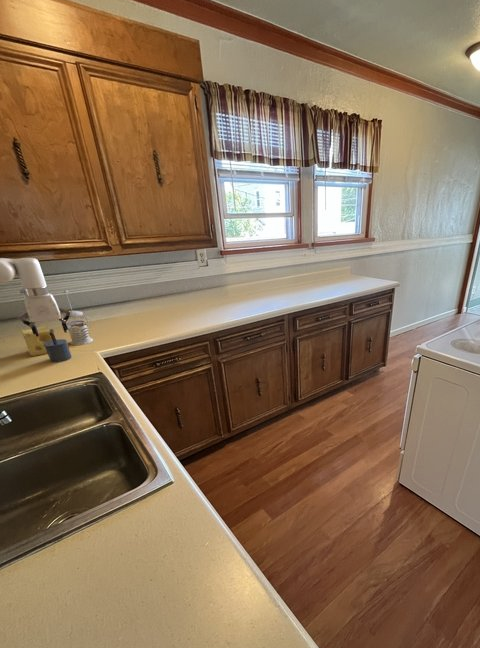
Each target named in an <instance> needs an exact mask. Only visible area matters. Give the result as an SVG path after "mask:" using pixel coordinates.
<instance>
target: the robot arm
mask: <svg viewBox="0 0 480 648" xmlns="http://www.w3.org/2000/svg"><path fill="white" fill-rule="evenodd" d="M16 278H18V279H19V280H20V283H21V286H22V289H19V294H22V295H24V296H23V300H24V305H25V308H26V311H24V313H22V314H20V315H18V316H17V319H18V320H19V321H20V322H22V323H23V324H24V325H26V326H28V327H29V328H30V329H32V331H33V334H36V337H38V336H39V333H38V330H37V328H38V327H37V325H35V324H36V323H44V322H50V321H60V322H61V326H62V329H63V332H64V333H67V332H68V331H69V330H68V327H67V326H68V324H67V321H68V320H69V319H70V317H69V316H70V311H71V310H68V309H65V308H62V307H59V305H58V303H57V300H56V299H55V297H54V295H53V294H52V293H50V291H49V288H48V284H47V282H46V279H45V276H44V273H43V271H42V267H41V265H40V262H39V260H38V259H37V258H35V257H20V258H19V257H18V258H7V257H6V258H5V257H0V283H9V282H11V281H12V280H13V279H16ZM61 313H63V314H65V313H66V316H65V317H64V316H62V314H61ZM26 317H28V319H29V320H30V321H29V320H27V319H25V318H26Z"/></svg>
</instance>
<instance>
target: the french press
mask: <svg viewBox="0 0 480 648" xmlns="http://www.w3.org/2000/svg"><path fill="white" fill-rule="evenodd" d="M69 292H70V291H69V290H67V289H65V290H63V294H66V297H67V300H68V304H69V306H70V308H71V310H69V311H70V316H69V318H74V320H71V321H69V322H66V325H67V328H68V330H67V331H68V333H69V336H70V339H71V341H70V345H72V346H81V345H82V346H83V345H86V344H89V343H92V342H93V341H94V339H93V338H92V337H91V335H90V332H89V329H90V328H91V325H89V323H91V320H90V318H89V317H88V316H87V315H86V314H85V315H84V313H83V311H79V310H73V309H72V306H71V305H72V304H71V302H70V299H69V295H68V294H69ZM65 316H66V313H63V315H62V317H63V318H64V317H65ZM77 317H80V319H83V318H85V319H87V320H86V323H85V321H84V320H76V318H77Z"/></svg>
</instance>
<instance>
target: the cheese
mask: <svg viewBox="0 0 480 648" xmlns="http://www.w3.org/2000/svg"><path fill="white" fill-rule="evenodd" d="M36 328H37V330H38V333H39V336H38V337H36V334H33V331H32V329H31V328H29V329H22V330H21V334H22V336H23V338H24V340H25V344H26V346H27V350H28V353H29V355H30V357H32V358H33V357H37V356H41V355H46V354H48V353H47V351H46V348H45V346H44V345H43V344H44V343H46V342H48V341H52V338H51V336H50V334H49V331H50V328H49V327H48V326H40V327H36Z"/></svg>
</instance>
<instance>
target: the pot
mask: <svg viewBox="0 0 480 648" xmlns="http://www.w3.org/2000/svg"><path fill="white" fill-rule="evenodd" d="M45 348H46V351H47V353H46V354H47V356H48V358H49V361H50V362H51V363H63V362H66V361H69V360H71V359H72V358H73V357H72V354H71V351H70V347H69V345H68V342H67V343H66V344H63V345H60V346H56V347H45Z"/></svg>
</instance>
